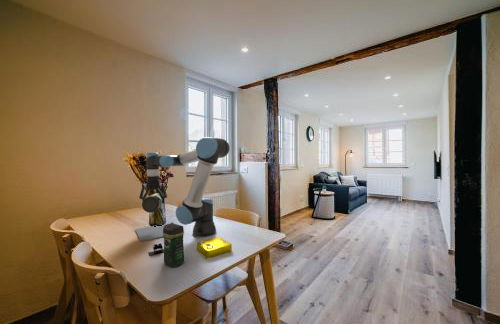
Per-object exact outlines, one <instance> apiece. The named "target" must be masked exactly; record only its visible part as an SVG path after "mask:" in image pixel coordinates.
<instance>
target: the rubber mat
mask: <svg viewBox="0 0 500 324" xmlns="http://www.w3.org/2000/svg"><path fill="white" fill-rule="evenodd" d="M163 224H164V225H162V224H161V225H162V226H157V225H152V226H146V227H140V228H139V227H138V228H135V229H134V230H135V231H134V232H135V233H136V234H137V236H138V239H139V240H140V242H141V243H143V242H146V241H147V242H148V241H152V240H157V239H161V238H162V239H164V236H163V227H164V226H165V225H166V224H167V223H163ZM154 226H156V227H154Z"/></svg>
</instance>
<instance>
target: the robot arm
mask: <svg viewBox="0 0 500 324" xmlns="http://www.w3.org/2000/svg"><path fill="white" fill-rule="evenodd" d="M229 153H230V144H229V142H228V141H227V140H226V139H224V138H218V137H211V136H205V137H203V138H200V139H199V140H198V141H197V142H196V146H195V149H194V150H191V151H187V152H184V153H181V154H177V155H175V154H173V155H172V154H171V155H170V154H169V155H167V154H165V155H164V154H163V155H161V154H159V152H147V153H146V155H145V160H146V183H142V184H141V191H140V194H139V196H138V197H139V200H142V202H143V200H144V199H145V198H147V197H148V194H149V193H150V191H154V190H156V192H157V193H159V195H160V196H161V198H162V199H161V207H160V210H163V209H164V204H165V203H166V202H165V199H167V197H168V194H167V191H166V188H165V183H164V182H163V183H160V168H169V167H171V168H172V167H183V166H185V165H188V164H191V163H197V162H198V163H197V165H196V167H195V171H194V175H193V177H192V181H191V184H190V188H189V190H188V193H187V197H184V198H183V201H182V203H181V205H178V206H177V207H176V209H175V217H176V219H177V221H178V222H179V223H180V224H181V225H190V224H192V223H194V225H193V229H192V235H193V236H195V237H197V238H205V237H209V236H213V235H215V234H217V228H216V225H215V222H214V203H213V202H214V201H213V199H212V198H209V197H204V195H205V192H206V191H205V190H206V187H207V185H208V182H209V179H210V176H211V173H212V171H213V167H214V166H215V165H216V164H217V163H218V160H219V159H221V158H225V157H227V155H228V154H229ZM159 186H160V187H161V189H160V187H159ZM146 187H147V189H146ZM145 190H146V191H145ZM142 202H141V203H142Z"/></svg>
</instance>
